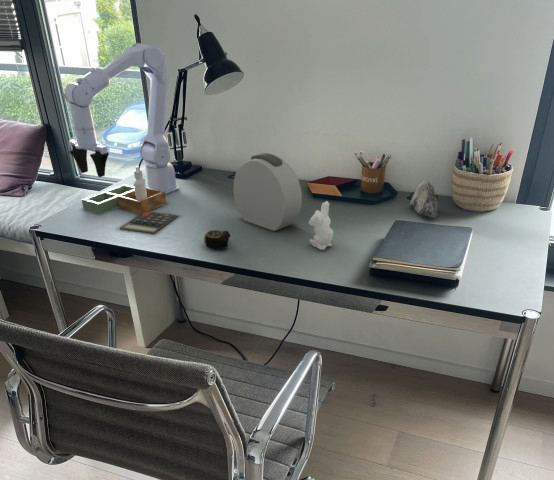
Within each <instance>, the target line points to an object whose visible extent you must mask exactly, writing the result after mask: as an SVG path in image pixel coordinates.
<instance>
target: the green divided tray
mask: <svg viewBox="0 0 554 480" xmlns="http://www.w3.org/2000/svg"><path fill="white" fill-rule="evenodd" d="M134 189H135V188H134V185H129V184H125V183H123V184H121V185H117V186H115V187H112V188H109V189H106V190H103V191H101V192H97V193H96V194H93V195H91V196H88V197H85V198H82V199H81V204H82V208H83V210H84V211H88V212H91V213H95V214H99V215H102V214H104V213H107V212H110V211H111V210H115V209H117V208H119V203H118V197H117V196H119V195H121V194H124V193H126V192H129V191H132V190H134Z"/></svg>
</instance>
